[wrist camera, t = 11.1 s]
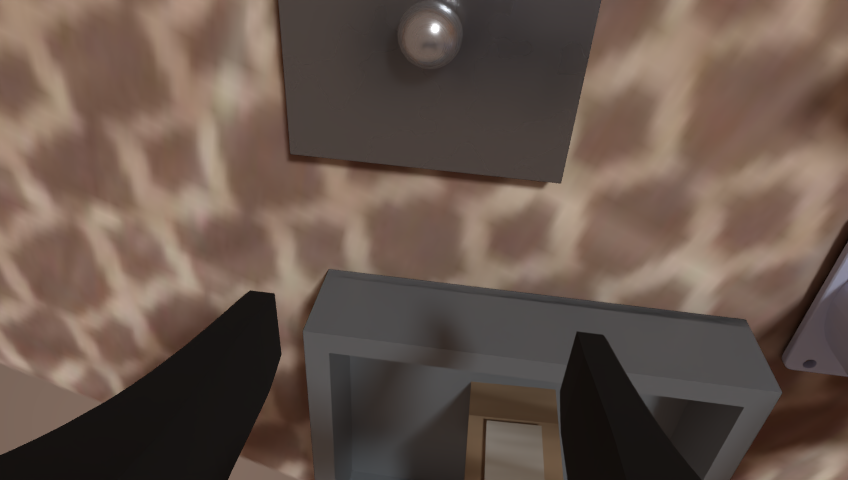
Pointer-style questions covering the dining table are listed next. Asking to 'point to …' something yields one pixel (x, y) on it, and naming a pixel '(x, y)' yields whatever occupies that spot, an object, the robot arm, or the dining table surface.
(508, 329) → the bin
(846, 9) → the dining table surface
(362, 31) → the stud plate
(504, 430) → the small brown box
